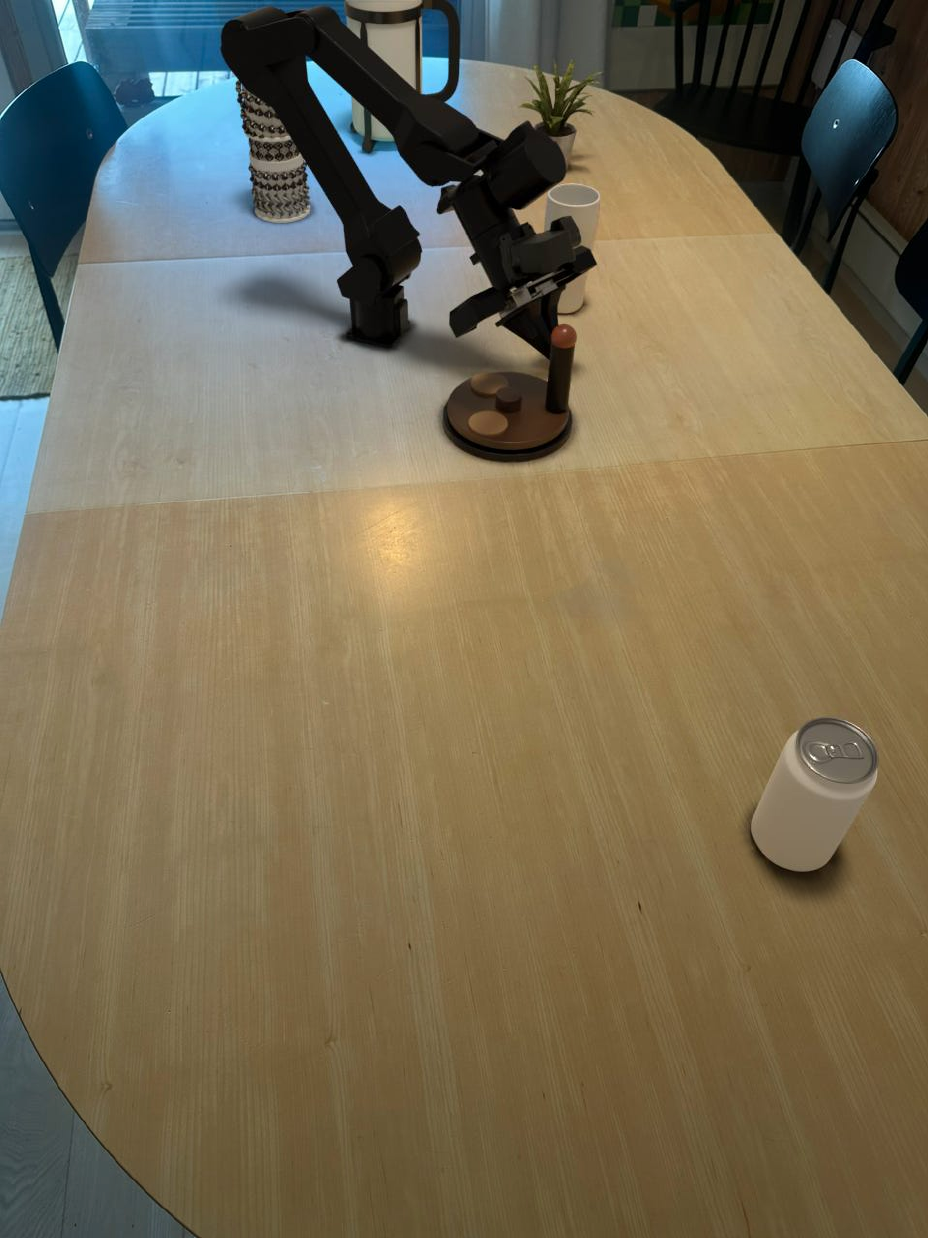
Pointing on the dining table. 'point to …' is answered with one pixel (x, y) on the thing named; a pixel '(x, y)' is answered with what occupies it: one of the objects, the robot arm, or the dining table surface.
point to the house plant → (559, 107)
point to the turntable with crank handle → (517, 401)
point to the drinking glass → (585, 214)
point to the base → (506, 454)
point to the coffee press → (399, 50)
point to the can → (815, 793)
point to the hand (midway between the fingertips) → (558, 360)
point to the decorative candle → (273, 163)
